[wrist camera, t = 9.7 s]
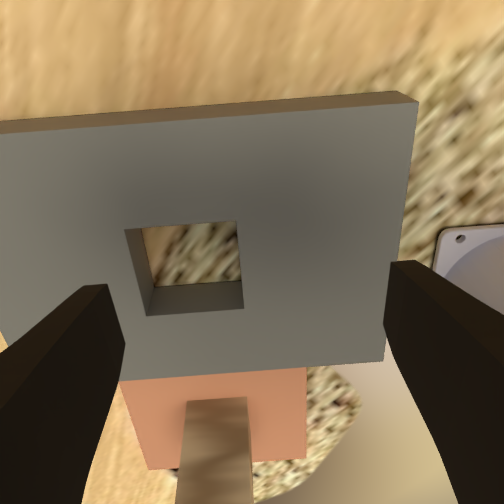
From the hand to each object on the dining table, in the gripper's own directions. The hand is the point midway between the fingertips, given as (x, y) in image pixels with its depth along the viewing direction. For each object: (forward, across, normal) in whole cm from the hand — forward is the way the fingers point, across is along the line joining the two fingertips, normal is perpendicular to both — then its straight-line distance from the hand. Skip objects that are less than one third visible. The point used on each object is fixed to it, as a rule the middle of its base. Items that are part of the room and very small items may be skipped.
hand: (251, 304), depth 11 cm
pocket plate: (+10, +3, +4) cm, 12 cm away
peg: (+10, +3, +18) cm, 20 cm away
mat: (+10, +3, +18) cm, 21 cm away
